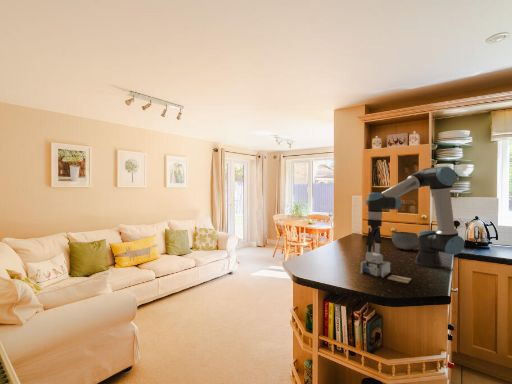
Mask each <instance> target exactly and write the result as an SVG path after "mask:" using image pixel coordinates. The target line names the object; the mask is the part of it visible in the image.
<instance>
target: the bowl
mask: <svg viewBox="0 0 512 384" xmlns="http://www.w3.org/2000/svg"><path fill="white" fill-rule="evenodd" d="M391 241H392V243H393V245H394V246H395V247H396V248H397V249H400V250H402V249H403V251H409V250H413V249H415V248H417V246H419V234H417V232H416V233H415V232H406V231H392V233H391Z"/></svg>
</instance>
